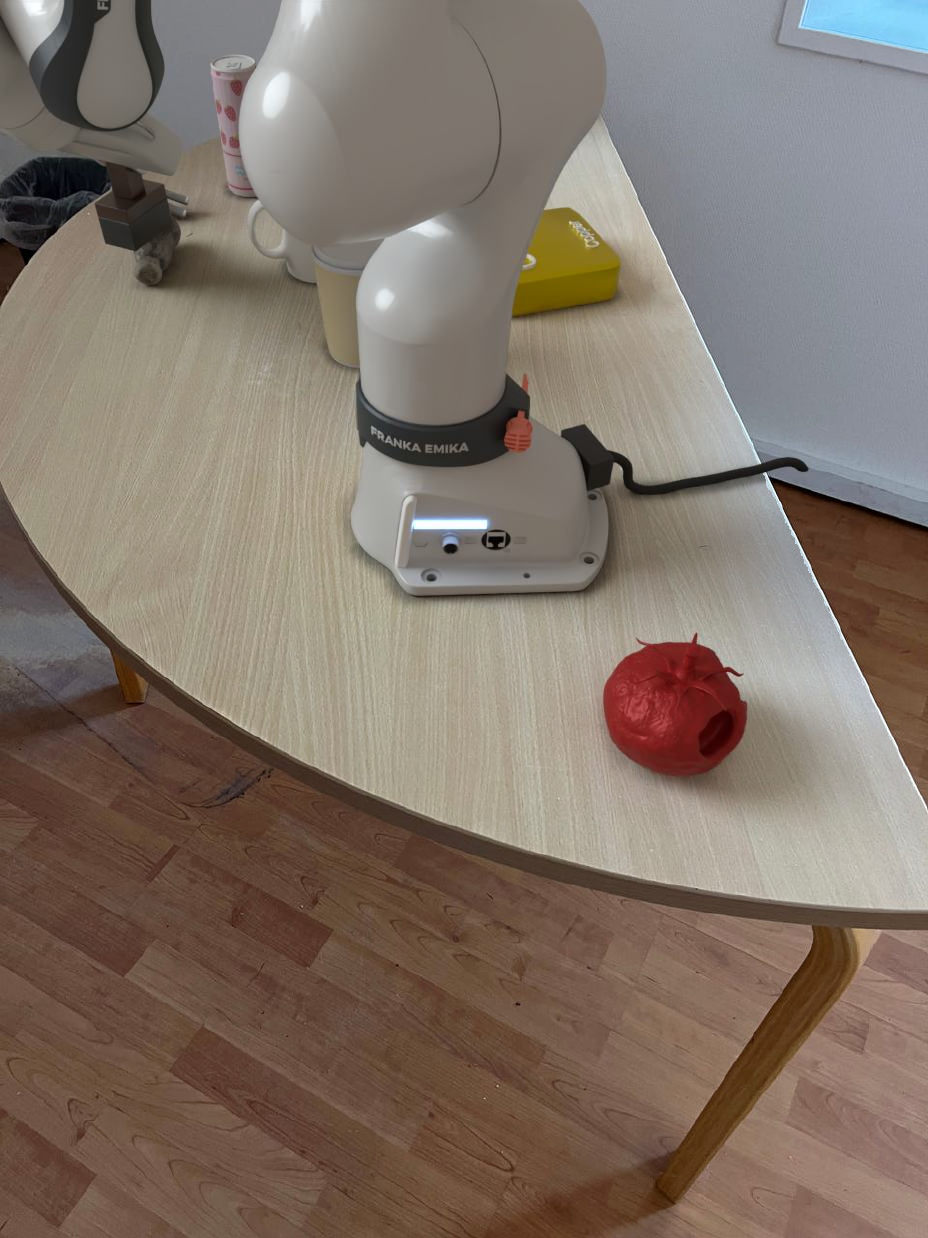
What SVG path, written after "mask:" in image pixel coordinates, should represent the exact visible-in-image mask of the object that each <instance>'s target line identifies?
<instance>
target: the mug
mask: <svg viewBox="0 0 928 1238" xmlns="http://www.w3.org/2000/svg"><path fill="white" fill-rule="evenodd" d="M264 210H266V209H265V208H264V207H263V205H262V204H261V202H260V201H259V199H257V200H256V201H255V202H254V203H253V204H252V206H251V207H250V209H249V211H248V215H247V231H248V236H249V238H250V241H251V242H252V243H251V244H252V245H253V246H254V248H255V249H256V250H257V251H258V252H259V253H260V254H261V255H263V256H264V257H267V258H270V259H273V260H283V259H284V260H286V265H287V270H288V272H289V274H290V275H291V276H292V277H294V278H295V279H297V280H300V281H303V282H305V283H306V282H307V283H311V284H317V280H316V274H315V267H314V260H313V258H312V255H311V246H310V245H308V244H306V243H303V242H302V241H300V240H298V239H297V238H295V237H294V236H292V235H291V234H290V233H288V232H287V231H286V230H285V229H284V228H282V227H281V232H282V235H281V240H280V243H279V245H278V246H277V247H275V248H266V247H264V246H262V245H261V244H260V243H259V241H258V239H257V235H256V221H257V218H258V216H259V214H260V213H261V212H262V211H264Z"/></svg>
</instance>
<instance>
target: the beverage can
mask: <svg viewBox="0 0 928 1238" xmlns="http://www.w3.org/2000/svg"><path fill="white" fill-rule="evenodd" d="M256 67H257V63H256V61H255V59H254V58H252V57H250V56H249V55H244V54H225V55H221V56H217V57H215V58H214V59H212V60H211V62H210V77H211V84H212V90H213V97H214V103H215V108H216V117H217V121H218V128H219V134H220V141H221V147H222V154H223V160H224V167H225V174H226V180H227V185H228V189H229V190H230V191H231V192H232V193H233V194H234V195H236V196H238V197H243V198H257V196H256V194H255V192H254V190H253V188H252V186H251V184H250V182H249V179H248V177H247V174H246V171H245V168H244V165H243V161H242V156H241V151H240V143H239V115H240V108H241V102H242V98H243V94H244V91H245V87H246V85H247V82H248V80H249V79H250V77H251V75H252V74H253V72H254V71H255V69H256Z"/></svg>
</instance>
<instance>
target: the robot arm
mask: <svg viewBox="0 0 928 1238" xmlns="http://www.w3.org/2000/svg"><path fill="white" fill-rule="evenodd" d="M154 29H155V28H154V24H153V17H152V0H0V135H1V136H3V137H4V138H7V139H10V140H13V141H16V142H17V143H19V144H20V145H22V146H23V147H25V148H27V149H28V150H30V151H34V152H38V153H49V152H53V151H59V152H63V153H67V154H68V153H69V154H72V155H77V156H81V157H85V158H88V159H91V160H94V161H95V162H96V163H98V164H99V165H100V166H103V167H106V163H105V161H107V162H111V163H115V164H120V165H124V166H125V167H126V168H127V169H129V170H130V171H131V172H134V173H138V174H142V176H145V175H146V174H147V173H148V172H151V173H155V174H160V175H164V176H168V177H172V176H174V175H175V174H176V173H177V171H178V168H179V165H180V164H181V163H180V162H181V159H182V154H183V150H184V149H183V148H184V142H183V140H182V137H180V136H179V135H178V134H177V133H176V132H174V131H173V130H172V129H171V128H170V127H168V126H167V125H165V124H164V123H163V122H162V121H160V120H159V119H158V118H157V117H154V115H151V113H148V112H149V110H150V109H151V108H152V106H153V104H154V103H155V100H156V99H157V97H158V95H159V92H160V89H161V87H162V85H163V84H162V83H163V81H164V77H165V68H166V67H165V59H164V55H163V51H162V49H161V47H160V44H159V41H158V39H157V36H156V33H155V30H154ZM607 73H608V72H607V59H606V53H605V48H604V45H603V41H602V38H601V35H600V33H599V30H598V28H597V25H596V23H595V21H594V20H593V18H592V16H591V14H590V13H589V12H588V10H587V9H586V7H585V6H584V5H583V4H582V3H581V2H580V1H579V0H281V1H280V6H279V10H278V14H277V19H276V21H275V25H274V27H273V30H272V34H271V37H270V39H269V42H268V43H267V46H266V48H265V51H264V53H263V54H262V57H261V58H260V60H259V62H258V64H256V69H255V71H254V72H253V74H252V75H251V77H250V79H249V80H248V82H247V85H246V87H245V91H244V94H243V98H242V102H241V108H240V115H239V143H240V151H241V156H242V161H243V165H244V168H245V171H246V174H247V177H248V179H249V182H250V184H251V186H252V188H253V190H254V192H255V194H256V196H257V197H256V198H257V200H259V201H260V202H261V204H262V205H263V207H264V208H265V209H264V210H265V211H266V212H267V213H268V214H269V216H270V217H271V218H272V219H273V221H275V222H276V224H278V226H280V227H281V229H282V228H284V229H285V230H286V231H287V232H288V233H290V234H291V235H292V236H294V237H295V238H297V239H298V240H300V241H302V242H303V243H306V244H308V245H310V246H314V247H330V246H338V245H346V244H355V243H360V242H366V241H372V240H377V239H383V238H385V239H384V241H383V242H382V244H381V245H380V246H379V247H378V249H377V250H376V251H375V252H374V254H373V255H372V257H371V258H370V260H369V261H368V263H367V265H366V267H365V269H364V271H363V273H362V275H361V278H360V281H359V284H358V289H357V294H356V312H357V328H358V344H359V359H360V369H359V375H358V379H357V381H356V383H355V391H354V411H355V423H356V430H357V432H358V439H359V441H358V442H359V445H360V447H361V461H360V462H361V464H360V473H359V479H358V486H357V490H356V495H355V497H354V501H353V504H352V507H351V511H350V512H351V513H350V525H351V530H352V533H353V535H354V537H355V539H356V541H357V543H358V544H359V546H360V547H361V548H362V549H363V551H365V552H366V553H367V555H369V556H370V557H371V558H373V559H374V560H376V561H377V562H378V563H380V564H382V565H383V566H384V567H386V568H387V569H388V570H389V571H390V572H391V573H392V574H393V577H394V578H395V580H396V581H397V583H398V585H399V586H400V587H401V589H402V590H403V591H404V592H406V593H407V594H409V595H411V596H417V597H419V596H421V597H422V596H423V597H425V596H456V595H457V596H458V595H459V596H460V595H484V594H485V595H486V594H487V595H488V594H490V595H491V594H519V593H520V594H521V593H522V594H525V593H553V592H555V593H556V592H558V593H559V592H577V591H583V590H584V589H586V588H587V587H588V586H589V585H590V584H592V582H594V580H595V579H596V577H597V576H598V574H600V571H601V569H602V568H603V565H604V562H605V559H606V554H607V549H608V541H609V511H608V508H607V503H606V500H605V497H604V495H603V493H602V491H601V489H600V488H603V487H606V486H609V485H610V484H611V480H612V473H613V468H614V464H617V465H618V466H619V467H620V468H621V470H622V483H623V484H624V487H625V488H626V489H627V490H628V491H630V492H632V493H634V494H637V495H640V496H654V495H655V496H656V495H664V494H669V493H673V492H678V491H682V490H687V489H692V488H700V487H707V486H712V485H716V484H722V483H725V482H729V481H735V480H739V479H743V478H751V477H754V476H758V475H762V474H765V473H768V472H771V471H775V470H778V469H782V468H793V469H795V470H796V471H798V472H800V473H807V472H809V467H808V465H807V464H806V463H805V462H804V461H803V460H801V459H800V458H797V457H793V456H783V457H778V458H774V459H771V460H768V461H765V462H761V463H758V464H754V465H750V466H744V467H740V468H735V469H730V470H725V471H721V472H717V473H712V474H706V475H701V476H693V477H688V478H687V477H686V478H682V479H677V480H673V481H669V482H668V481H667V482H664V483H660V484H652V485H649V484H648V485H647V484H640V483H638V482H636V481H635V480H634V469H633V464H632V462H631V460H630V459H628V457H627V456H626V455H623V454H621V453H619V452H617V451H614V450H611V449H607V448H606V447H605V446H604V445H603V444H602V442H601V441H600V440H599V439H598V438H597V436H596V435H595V434H594V433H593V431H592V430H591V429H590V428H589V427H588V426H587V425H586V424H585V423H582V424H578V425H575V426H571V427H568V428H564V429H561V431H560V435H559V434H558V433H557V432H555V431H553V430H552V429H551V428H548V426H546V425H544V424H543V423H542V422H540V421H539V420H537V419H535V418H534V417H532V416H531V415H530V413H531V396H530V394H529V393H528V392H529V379H528V375H527V373H525V372H524V373H523V374H522V375H523V377H522V384H521V386H520V384H518V383H517V381H515V380H514V379H513V377H511V376H510V375H509V374H508V373H507V365H508V354H509V345H510V335H511V327H512V326H511V325H512V317H513V316H512V310H513V303H514V298H515V293H516V289H517V285H518V281H519V277H520V274H521V271H522V268H523V264H524V261H525V259H526V256H527V253H528V250H529V247H530V245H531V242H532V239H533V237H534V234H535V232H536V229H537V226H538V224H539V221H540V219H541V216H542V214H543V211H544V210H546V209H545V208H546V207H547V204H548V202H549V198H550V197H551V195H552V193H553V190H554V188H555V185H556V184H557V181H558V179H559V178H560V176H561V173H562V172H563V170H564V169H565V167H566V165H567V163H568V161H569V160H570V158H571V157H572V155H573V153H575V151H576V150H577V148H578V147H579V145H580V144H581V143H582V141H583V140H584V139H585V137H586V136H587V135H588V133H589V132H590V131H591V130H592V129H593V127H594V126H595V123H596V122H597V120H598V118H599V116H600V114H601V110H602V108H603V104H604V100H605V96H606V91H607V77H608V75H607Z"/></svg>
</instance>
